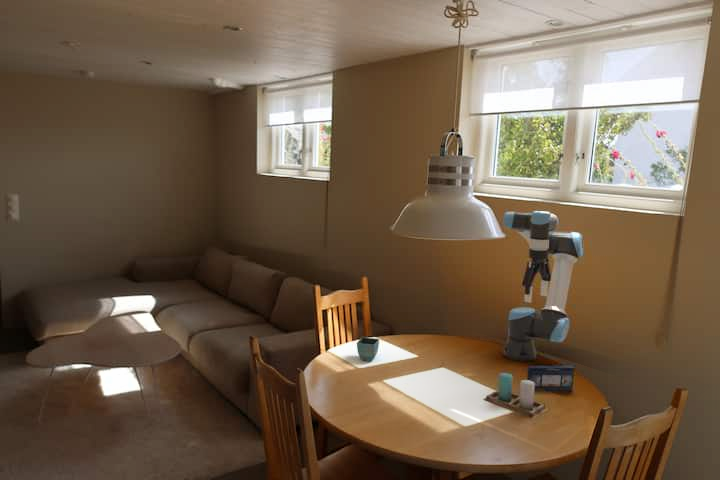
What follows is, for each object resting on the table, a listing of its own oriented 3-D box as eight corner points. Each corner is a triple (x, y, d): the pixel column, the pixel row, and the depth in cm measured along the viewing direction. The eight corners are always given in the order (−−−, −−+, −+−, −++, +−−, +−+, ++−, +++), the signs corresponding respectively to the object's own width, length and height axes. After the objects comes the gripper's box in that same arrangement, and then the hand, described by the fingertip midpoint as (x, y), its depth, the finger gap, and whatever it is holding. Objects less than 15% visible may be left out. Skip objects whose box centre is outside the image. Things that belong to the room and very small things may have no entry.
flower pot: (356, 361, 240) (356, 342, 239) (361, 354, 248) (361, 336, 247) (374, 363, 238) (374, 345, 236) (379, 357, 246) (379, 338, 245)
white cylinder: (523, 403, 197) (524, 378, 196) (535, 408, 194) (537, 382, 192) (516, 407, 194) (518, 382, 192) (528, 412, 190) (530, 386, 189)
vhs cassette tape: (528, 391, 211) (529, 367, 209) (525, 388, 214) (527, 365, 212) (573, 391, 211) (575, 368, 209) (570, 388, 214) (572, 365, 212)
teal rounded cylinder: (502, 396, 204) (503, 371, 202) (513, 400, 200) (515, 375, 199) (495, 399, 200) (496, 375, 199) (506, 404, 197) (508, 379, 195)
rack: (499, 392, 209) (499, 386, 208) (548, 410, 194) (549, 404, 193) (482, 401, 200) (482, 395, 200) (532, 421, 186) (533, 415, 185)
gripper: (544, 244, 224) (541, 291, 227) (514, 251, 207) (512, 302, 210) (561, 246, 218) (558, 295, 222) (532, 253, 201) (529, 306, 205)
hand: (535, 298), depth 216 cm, fingers open, 13 cm apart
